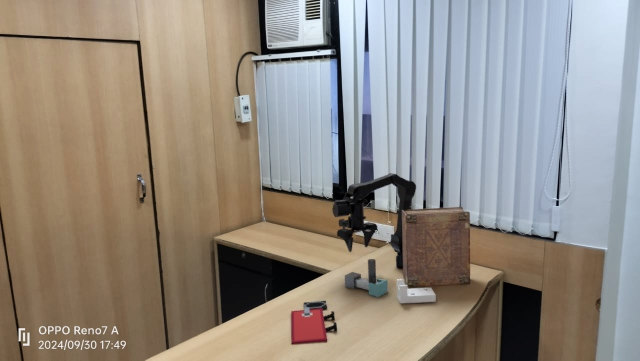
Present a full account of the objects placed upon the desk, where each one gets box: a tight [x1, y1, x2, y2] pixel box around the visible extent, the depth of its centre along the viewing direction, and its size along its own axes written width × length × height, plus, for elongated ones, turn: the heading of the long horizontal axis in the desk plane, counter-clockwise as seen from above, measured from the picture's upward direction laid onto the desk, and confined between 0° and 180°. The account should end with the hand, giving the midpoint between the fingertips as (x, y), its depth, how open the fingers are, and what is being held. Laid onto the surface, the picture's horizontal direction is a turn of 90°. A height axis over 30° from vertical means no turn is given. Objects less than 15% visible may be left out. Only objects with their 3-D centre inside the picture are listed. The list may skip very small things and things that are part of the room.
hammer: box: [355, 258, 380, 291], centre depth 188 cm, size 12×3×12 cm, turn 48°
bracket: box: [396, 278, 437, 304], centre depth 176 cm, size 13×7×8 cm, turn 91°
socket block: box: [368, 278, 389, 298], centre depth 185 cm, size 4×6×5 cm
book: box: [402, 206, 471, 288], centre depth 192 cm, size 25×9×30 cm, turn 91°
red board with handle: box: [290, 300, 338, 345], centre depth 163 cm, size 30×3×15 cm
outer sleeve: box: [344, 271, 362, 290], centre depth 193 cm, size 4×5×5 cm
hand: (358, 249), depth 203 cm, fingers open, 9 cm apart
